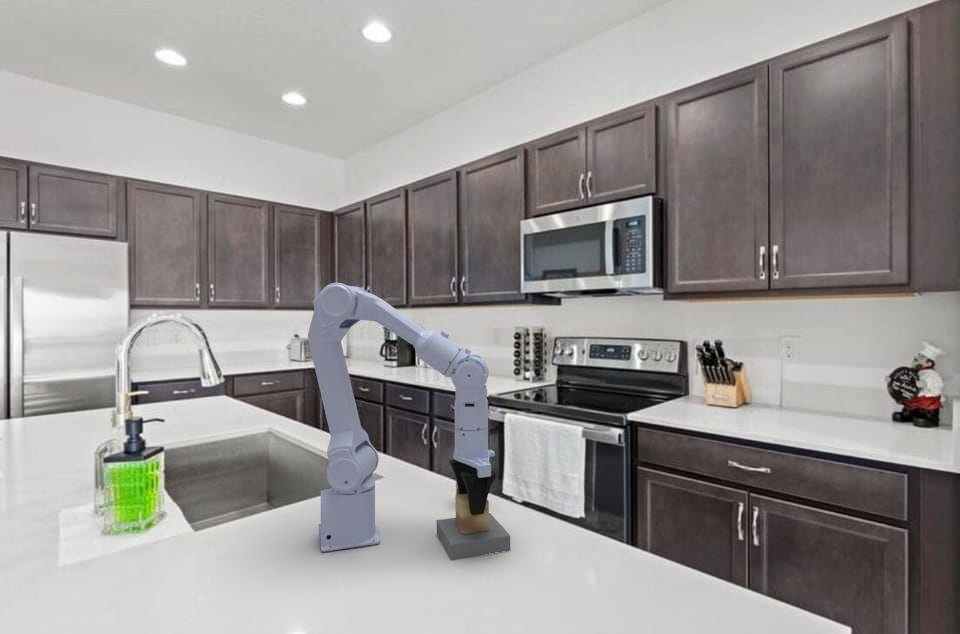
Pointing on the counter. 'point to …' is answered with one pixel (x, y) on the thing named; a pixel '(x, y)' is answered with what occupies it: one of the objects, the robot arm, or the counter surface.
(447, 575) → the counter surface
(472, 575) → the counter surface
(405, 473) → the counter surface
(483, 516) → the oak block
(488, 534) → the charcoal base
